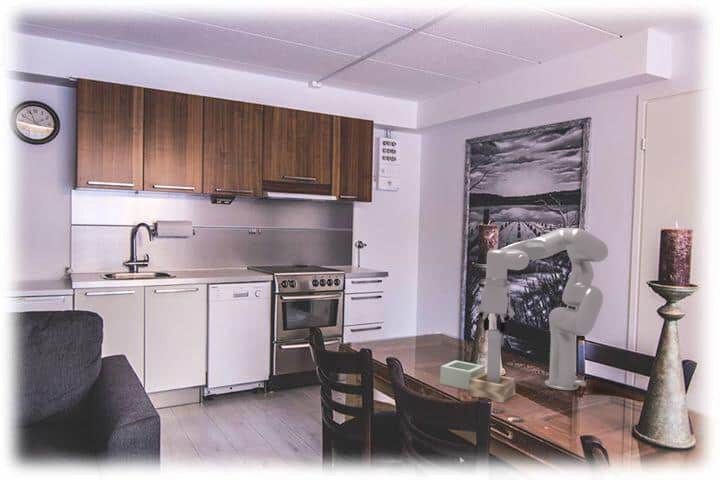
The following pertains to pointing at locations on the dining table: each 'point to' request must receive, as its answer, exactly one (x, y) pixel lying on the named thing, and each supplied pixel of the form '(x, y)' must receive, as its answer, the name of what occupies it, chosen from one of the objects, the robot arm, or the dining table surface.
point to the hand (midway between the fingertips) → (494, 330)
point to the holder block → (459, 373)
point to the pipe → (493, 355)
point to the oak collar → (492, 388)
